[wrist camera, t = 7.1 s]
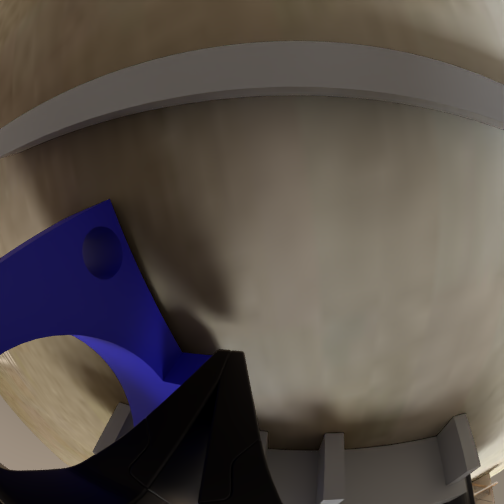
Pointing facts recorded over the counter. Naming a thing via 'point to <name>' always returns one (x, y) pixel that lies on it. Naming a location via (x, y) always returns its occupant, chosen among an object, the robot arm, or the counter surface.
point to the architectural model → (483, 490)
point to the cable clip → (93, 305)
